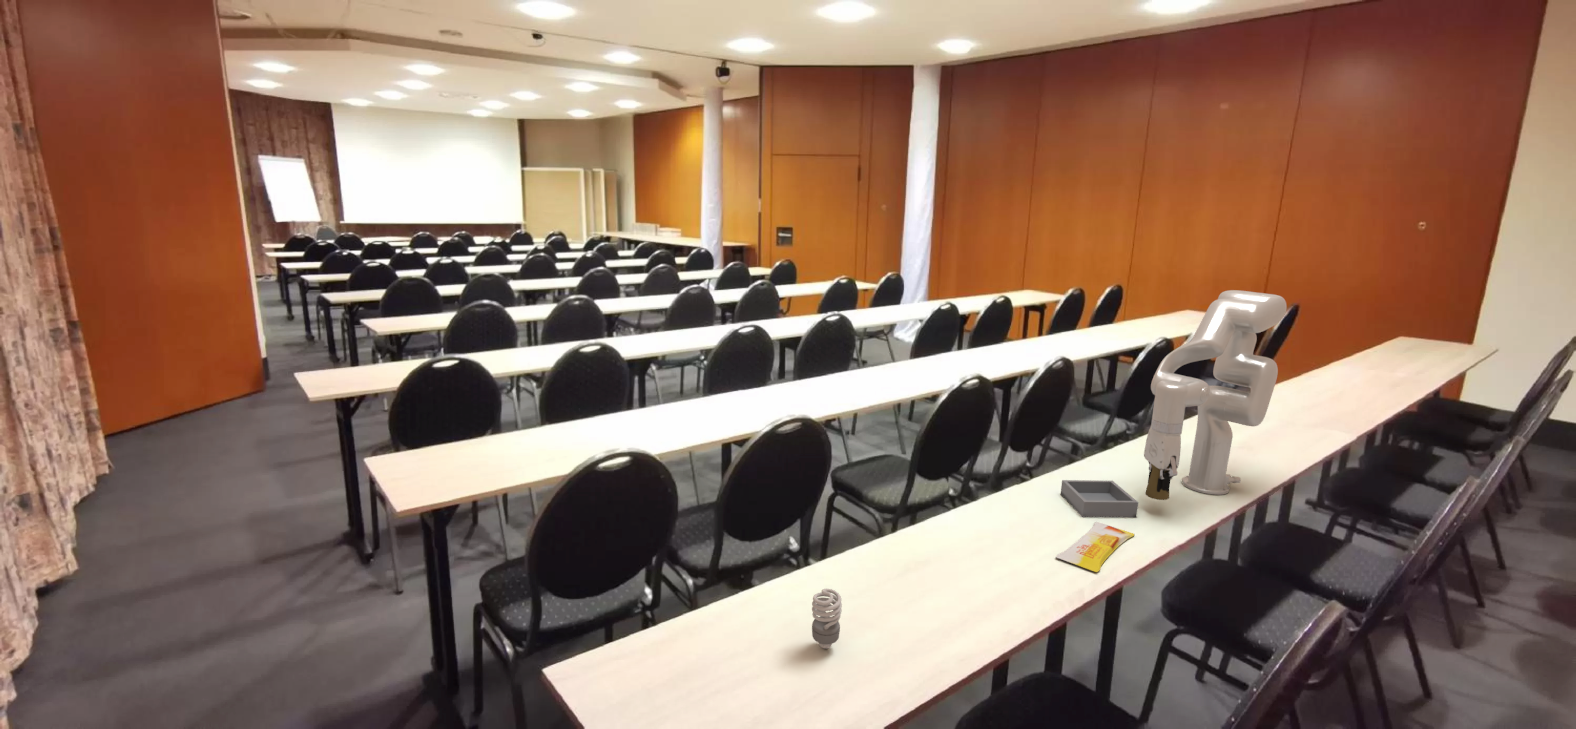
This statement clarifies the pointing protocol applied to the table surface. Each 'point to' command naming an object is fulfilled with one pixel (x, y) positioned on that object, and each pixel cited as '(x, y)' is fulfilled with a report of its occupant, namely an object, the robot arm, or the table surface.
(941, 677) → the table surface
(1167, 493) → the cork
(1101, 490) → the tote
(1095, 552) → the food package
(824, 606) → the light bulb
